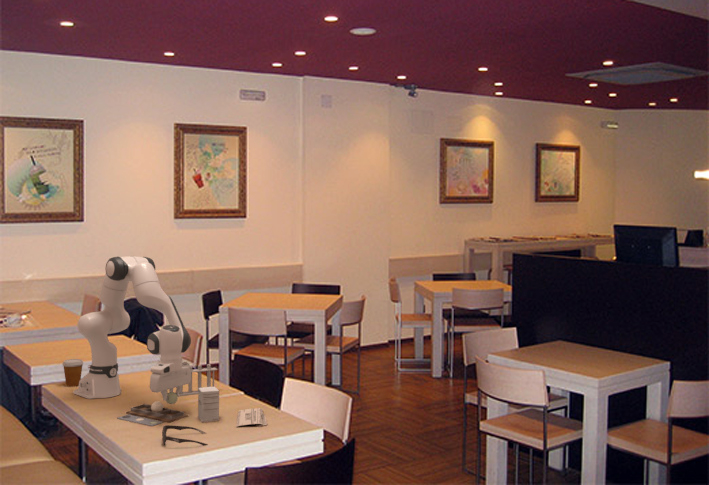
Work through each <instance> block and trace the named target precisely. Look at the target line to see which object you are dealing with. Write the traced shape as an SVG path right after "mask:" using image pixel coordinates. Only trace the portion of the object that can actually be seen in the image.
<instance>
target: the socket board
mask: <svg viewBox="0 0 709 485" xmlns="http://www.w3.org/2000/svg"><path fill="white" fill-rule="evenodd" d="M151 405H152V404H147V403H141V404H138V405H135V406H132V407H130V410H128V411H127V410H126V414H125V415H128V414H129V415H134V416H138V417H143V418H147V419H152V420H157V421H161V422H163V423H167V424H168V423H169V424H170V423H173V422H176V421H178V420H182V419H185V418H188V417H189V414H187V413H185V411H181V410H177V409H171V408H167V407H163V410H162V411H161V412H158V413H155V412H152V410H151Z"/></svg>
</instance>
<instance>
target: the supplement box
mask: <svg viewBox="0 0 709 485" xmlns="http://www.w3.org/2000/svg"><path fill="white" fill-rule="evenodd" d="M197 390H198V394H197V395H198V396H197V398H198V400H197V402H198V403H197V407H198V408H197V411H198V412H197V413H198V414H197V415H198V416H197V417H198V419H199V420H200V421H201V423H208V422H217V421H220V390H219V389H218V388H217V387H216V386H214V387H213V386H211V387H207V386H205V387H204V386H203V387H201V388H198V387H197Z"/></svg>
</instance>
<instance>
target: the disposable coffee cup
mask: <svg viewBox="0 0 709 485" xmlns="http://www.w3.org/2000/svg"><path fill="white" fill-rule="evenodd" d="M62 362H63V363H62V367H63V373H64V379H65V386H66V387H68V388H69V387H70V388H71V387H79V381H80V380H81V379H82V372H83V365H84V360H83V359H82V358H81V359H80V358H69V359H65V360H63V361H62Z"/></svg>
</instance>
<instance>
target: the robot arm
mask: <svg viewBox="0 0 709 485" xmlns="http://www.w3.org/2000/svg"><path fill="white" fill-rule="evenodd" d="M129 282H132V287H133V292H134V296H135V298H136V301H137V302H138V303H139V304H140V305H142V306H144V307H146V308H149V309H153V310H156V311H158V312H161V314H162V313H163V314H164V316H165V318H166V319H167V322H168V325H164V326H162V327H161V328H160V329H159V330H157V331H154V332H152V333H150V334H149V335H148V337H147V338H146V339H147V340H146V347H147V351H148V352H149V353H150V354H152V355H154V356H155V355H156V356H159V355H160V357H159V358H160V359H159V361H158V362H157V363H156V364H154V365H152V366H151V367H150V373H151V374H150V379H149V389H150V391H151V392H153V393H160V394H161V395H162V400H163V401H164V402H166V400H169V396H167V394H166V392H167V393H168V391H169V389H172V388H173V389H174V388H175V389H176V390H175V391H174V393H176V394H177V396H178V398H179V397H181V396H180V391H181V389H182V385H183V386H185V385H188V384H189V383H190V382H191V372H190V368H189V366H190V363H189V362H187V361H184V362H183V355H182V353H185V352H187V350H188V349H189V347H190V346H191V343H192V338H191V335H190V333H189V332H188V330H187V329H186V327H185V325H184V322H183V320H182V318H181V316H180V314H179V311H178V309H177V306H176V305H175V302H174V300H173V299H172V297H171V296H170V295H168V294H166V292H165V291H164V290H163V289H162V286H161V283H160V279H159V277H158V274H157V272H156V264H155V262H154V260H153V258H150V257H147V256H134V255H128V256H127V255H126V256H114V257H111V258H109V259H108V260H107V262H106V263H105V274H104V278H103V280H102V284H101V286H100V291H99V294H98V300H99V301H100V303H101V304H102V305H103V306H104V309H103V310H100V311H94V312H93V311H91V312H87V313H85V314H83V315H81V316H80V317H79V318H78V320H77V330H78V332H79V334H80V335H81V336H83V337H85V339H86V340H87V342H88V343H89V346H90V352H91V365H90V364H89V365H88V366H87V368H88V369H89V370H88V373H86V374H85V375H84V376H83V377H81V380H80V381H79V386H78V388H77V389H75V390H73V391H72V393H73V394H74V395H77V396H79V397H81V398H84V399H91V400H92V399H104V398H105V399H106V398H107V399H108V398H111V397H116V396H118V395H121V394H122V388H121V386H120V377H119V376H120V375H119V373H118V372H119V363H118V347H117V346H116V344H114V343H113V342H111V341H110V339H109V337H108V335H111V334H116V333H120V332H122V331H125V330H126V329H128V328H129V326H130V324H131V317H130V315H129V312H127V310H126V309H125V306H124V305H125V304H124V303H125V297H126V293H127V290H128V286H129Z"/></svg>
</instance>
